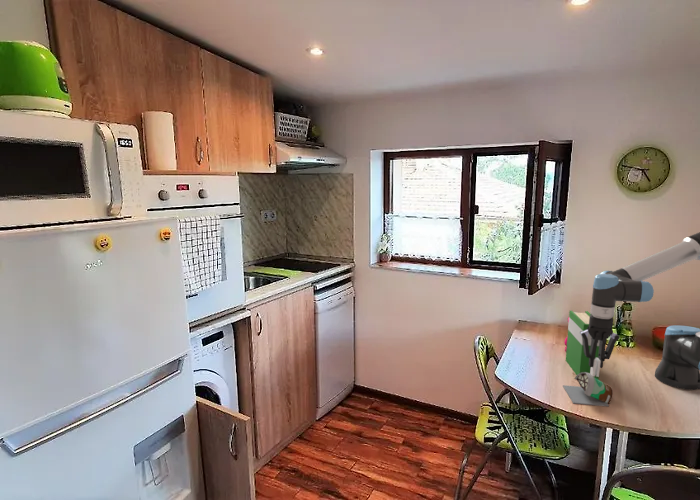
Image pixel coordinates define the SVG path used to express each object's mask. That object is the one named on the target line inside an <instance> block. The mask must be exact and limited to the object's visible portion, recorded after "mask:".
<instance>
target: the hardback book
mask: <svg viewBox="0 0 700 500" xmlns="http://www.w3.org/2000/svg"><path fill="white" fill-rule="evenodd" d="M574 312H575V311H573V310H569V312H568V313H569V314H568V317H569V323H568V324H567V325H568V328H567V336H568V337H567V336H566V337H567V349H566V352H565V362H566V363H567V364H568V366H569V367H570V368H571V370H572V371H573V373H574V374H575V375H576V376H577V375H578V374H579V373H581V372H586V373H590V370H591V367H590V366H589V358H587V357H586V356H585V354H584V349H583V341H582V336H581V334H580V331H585V330H587V328H588V326H589V318H590V315H591V313H590V311H588V310H585V311H584V312H577V313H574ZM587 338H588V345H589V353H590V346H591V336H590V334H589V333H588V337H587ZM599 342H600V341H599V340H598V343H597V348H596V354H595V359H596V358H599V357H598V353H599ZM590 374H591V373H590ZM593 377H594V378H596V379H598V380H600V377H596V375H595V376H593Z"/></svg>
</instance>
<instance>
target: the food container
mask: <svg viewBox="0 0 700 500" xmlns="http://www.w3.org/2000/svg"><path fill="white" fill-rule="evenodd" d="M574 380H576V381H577V382H578V384H579V385H580V386H579V387H582V388H583V390H584V391H585V392H584V393H585V394H586V395H588V396H591V397H594V398H596V399H598V400H601V401H603V402H605V403H607V404H608V405H611V404H610V403H611V402H612V399H613V397H614V396H613V395H614V391H613V388H612V386H610V385H609V384H607V383H605V382H603V381H601V380H600V379H599V380H598V379H596V378H594V377H593V376H592V375H591V374H590V373H586V372H581V373H579V374H578V375H576V376H575V377H574Z"/></svg>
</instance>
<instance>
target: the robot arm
mask: <svg viewBox="0 0 700 500" xmlns="http://www.w3.org/2000/svg"><path fill="white" fill-rule="evenodd" d="M694 260H695V261H700V232H697V233H694V234H691V235H690V236H686V237H685V238H683V239H682V241H681V242H679V243H677V244H675V245H673V246H671V247H668V248H665V249H663V250H660V251H659V252H656V253H653V254H652V255H649V256H647V257H644V258H642V259H640V260H637V261H635V262H633V263H631V264H629V265H625V266H624V267H620V268H619V269H616V270H614V271H613V270H604V271H602V272H601V271H600V273H599V274H596V275H595V276H594V279H593V284H592V295H591V303H590V310H589V313H590V314H591V315H590V318H589V326H588V328H587V330H585V331H580V334H581V336H582V341H583V349H584V354H585V356H586V357H587V358H589V366H590V367H591V370H590V373H591V375H592V376H595V375H596V377H599V376H600V369H603V366H604V362H605V361H606V360H610V358H611V355H612V354H613V352H614V348H615V345H616V343H617V341H618V340H619V339H620V336H619V334H617V333H615V332H614V330H613V327H614V326H613V325H614V317H615V308H616V303H617V302H629V303H630V302H636V303H637V302H638V303H642V302H643V303H644V302H650V301H651V300H652V299H653V298H654V293H655V290H654V287H653V285H652V283H651V282H649V281H645V280H647V279H650V278H652V277H656V276H657V275H660V274H661V273H665V272H667V271H669V270H673V269H674V268H677V267H678V266H682V265H684V264H686V263H690V262H691V261H694ZM588 333H589V334H590V336H591V346H590V353H589V345H588V338H587V337H588ZM608 339H609V340H608ZM598 340H599V341H600V342H599V353H598V357H599V358H596V359H595V354H596V348H597V343H598ZM607 340H608V342H607ZM606 344H607V345H606ZM662 348H663V350H662V358H661V360H660V362H659V363H658V365H657V367H656V368H655V371H654V378H655V379H656V380H657V381H659V382H660V383H662V384H665V385H667V386H670V387H673V388H677V389H681V390H689V391H690V390H691V391H692V390H699V389H700V328H699V327H694V326H688V325H677V324H676V325H669V326H667V327H666V329H665V333H664V340H663V347H662ZM599 378H600V377H599Z"/></svg>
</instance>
